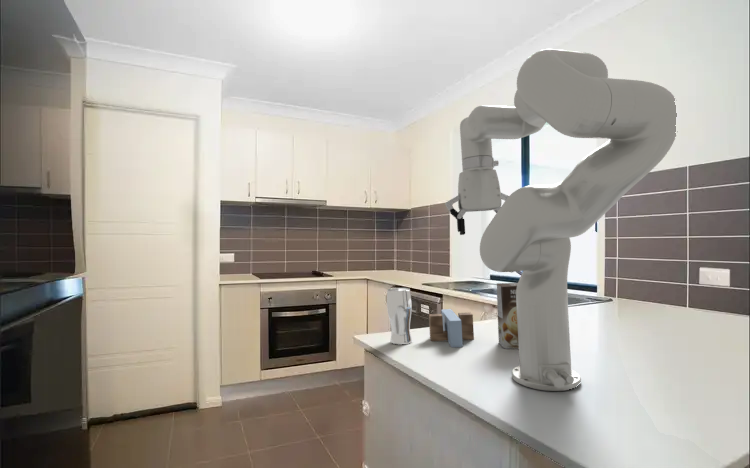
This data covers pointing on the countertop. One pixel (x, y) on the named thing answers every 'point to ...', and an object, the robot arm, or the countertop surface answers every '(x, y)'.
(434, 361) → the countertop surface
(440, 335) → the brown wooden u-shaped block
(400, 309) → the beer glass
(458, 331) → the pale blue tapered slab
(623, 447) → the countertop surface
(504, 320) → the coffee box
